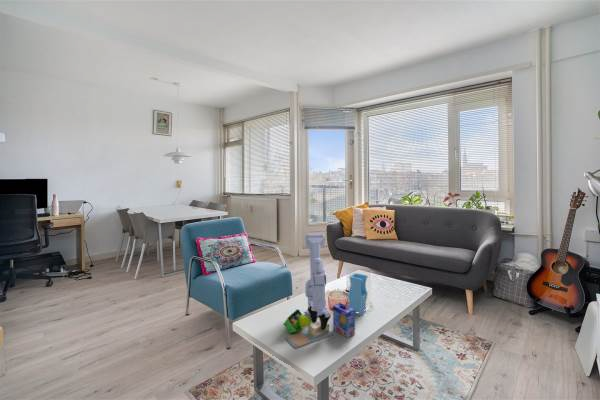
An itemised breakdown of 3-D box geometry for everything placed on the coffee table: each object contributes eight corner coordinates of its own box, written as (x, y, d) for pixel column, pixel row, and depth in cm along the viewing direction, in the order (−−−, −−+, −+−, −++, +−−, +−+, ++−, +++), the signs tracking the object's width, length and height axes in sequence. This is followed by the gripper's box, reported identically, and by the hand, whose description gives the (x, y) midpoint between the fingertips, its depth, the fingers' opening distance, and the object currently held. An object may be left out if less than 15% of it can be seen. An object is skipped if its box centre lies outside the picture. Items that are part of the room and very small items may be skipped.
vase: (360, 315, 157) (361, 279, 155) (347, 311, 162) (348, 276, 160) (367, 310, 163) (367, 275, 161) (354, 306, 168) (354, 272, 166)
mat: (321, 325, 147) (321, 324, 147) (333, 334, 139) (333, 333, 139) (284, 338, 135) (284, 337, 135) (295, 348, 127) (295, 347, 127)
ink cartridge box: (332, 329, 143) (332, 300, 142) (340, 325, 147) (340, 297, 146) (347, 338, 136) (347, 308, 134) (355, 334, 139) (355, 304, 138)
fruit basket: (291, 313, 150) (306, 302, 145) (301, 328, 148) (317, 317, 143) (280, 323, 140) (296, 311, 135) (290, 339, 137) (307, 328, 133)
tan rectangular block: (323, 327, 144) (323, 319, 144) (329, 331, 140) (329, 323, 140) (308, 332, 139) (308, 324, 139) (313, 337, 136) (313, 328, 135)
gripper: (303, 294, 142) (303, 321, 143) (321, 305, 130) (321, 335, 131) (315, 291, 146) (315, 317, 147) (333, 302, 134) (333, 330, 135)
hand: (318, 325), depth 139 cm, fingers open, 7 cm apart
